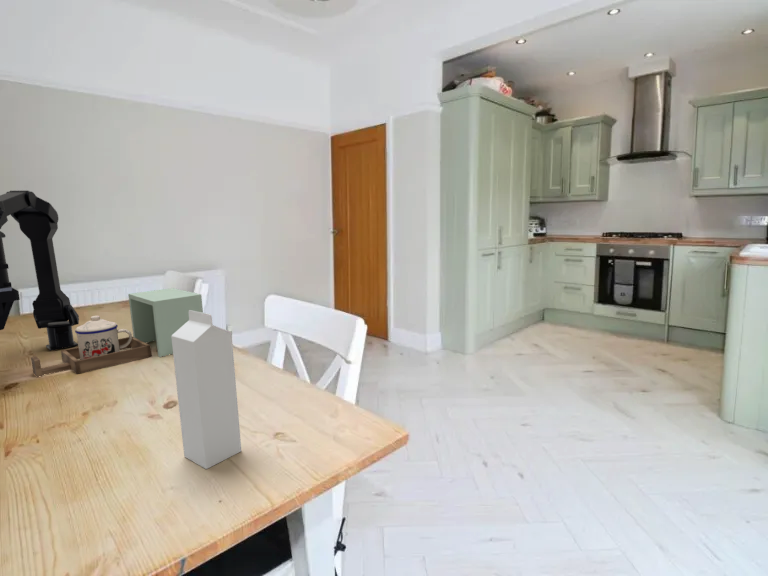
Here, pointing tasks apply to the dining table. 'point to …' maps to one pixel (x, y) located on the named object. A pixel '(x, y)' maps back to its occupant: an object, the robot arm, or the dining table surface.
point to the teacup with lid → (99, 338)
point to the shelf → (161, 315)
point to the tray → (95, 358)
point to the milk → (206, 390)
